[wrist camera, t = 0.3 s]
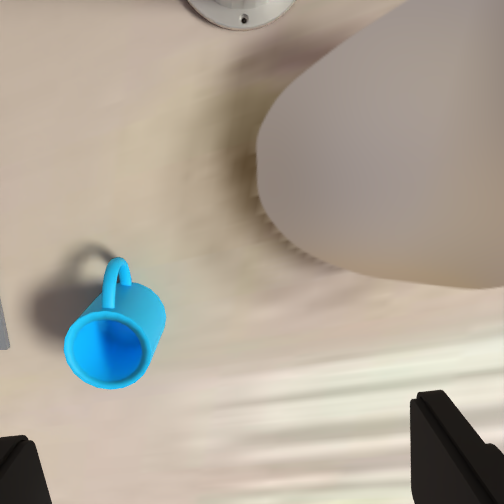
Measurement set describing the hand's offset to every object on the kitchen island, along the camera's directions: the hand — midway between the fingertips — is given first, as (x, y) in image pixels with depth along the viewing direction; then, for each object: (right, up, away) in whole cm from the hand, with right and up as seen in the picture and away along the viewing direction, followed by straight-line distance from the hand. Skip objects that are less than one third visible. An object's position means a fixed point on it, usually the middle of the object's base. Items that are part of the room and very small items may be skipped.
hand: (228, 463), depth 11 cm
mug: (-13, 0, +38) cm, 40 cm away
